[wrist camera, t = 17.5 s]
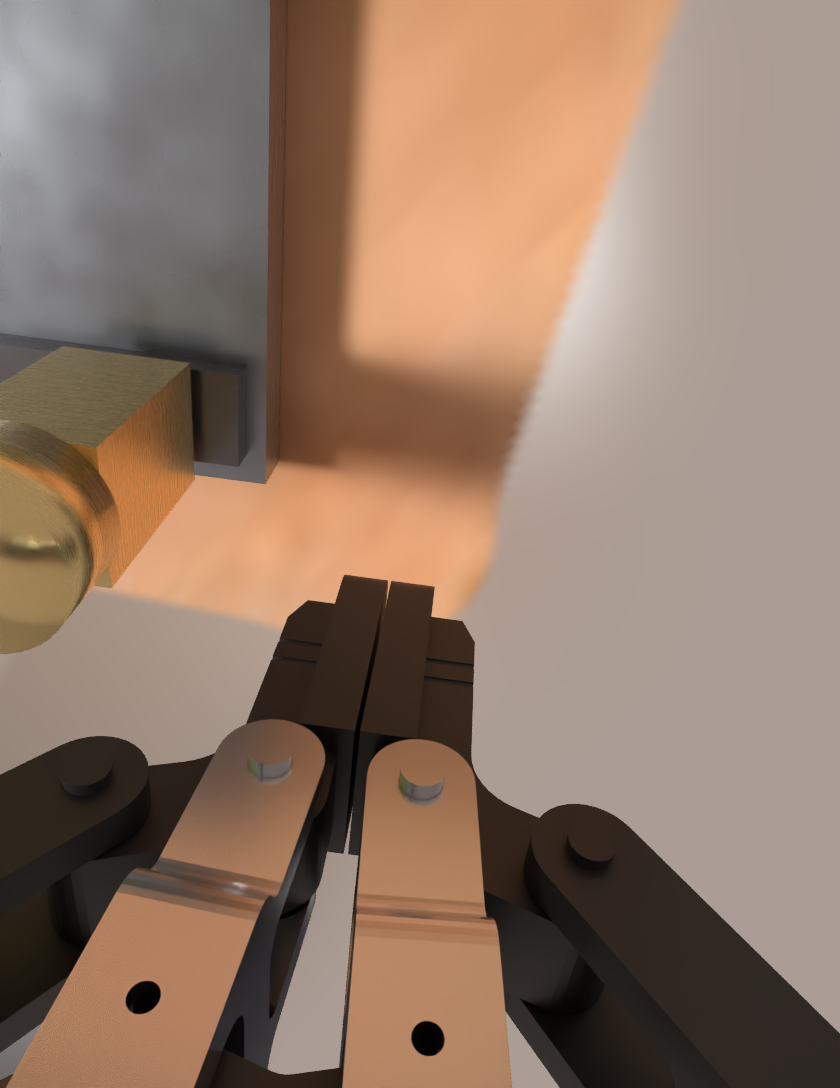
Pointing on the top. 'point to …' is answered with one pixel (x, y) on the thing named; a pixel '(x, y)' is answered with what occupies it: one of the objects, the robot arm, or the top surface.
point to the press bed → (150, 200)
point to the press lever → (84, 478)
